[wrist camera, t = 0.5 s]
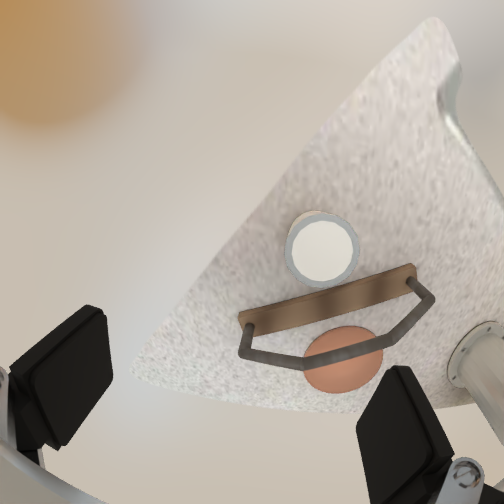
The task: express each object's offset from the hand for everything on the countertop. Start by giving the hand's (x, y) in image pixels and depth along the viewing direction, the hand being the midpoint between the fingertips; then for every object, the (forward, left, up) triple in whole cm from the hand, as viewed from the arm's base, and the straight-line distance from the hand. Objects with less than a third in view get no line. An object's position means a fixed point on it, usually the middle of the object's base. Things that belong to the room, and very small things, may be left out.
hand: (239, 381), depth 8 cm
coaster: (-17, +11, -24) cm, 32 cm away
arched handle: (-10, +4, -24) cm, 27 cm away
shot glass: (-5, -2, -25) cm, 25 cm away
